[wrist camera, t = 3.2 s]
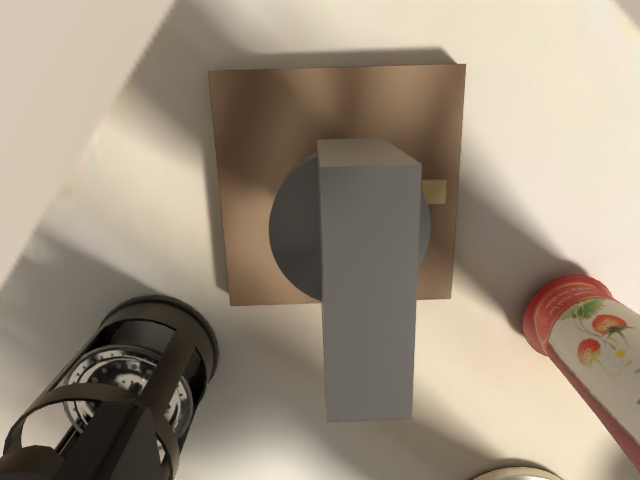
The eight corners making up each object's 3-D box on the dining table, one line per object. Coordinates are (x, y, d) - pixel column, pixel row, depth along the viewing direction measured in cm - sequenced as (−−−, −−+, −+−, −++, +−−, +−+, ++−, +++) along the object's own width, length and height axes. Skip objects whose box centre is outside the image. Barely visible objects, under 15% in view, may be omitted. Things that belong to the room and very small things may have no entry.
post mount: (458, 65, 30) (508, 56, 23) (445, 290, 35) (482, 345, 28) (213, 72, 30) (180, 65, 23) (233, 297, 35) (212, 354, 27)
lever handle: (425, 132, 23) (506, 161, 14) (418, 302, 26) (480, 425, 17) (266, 137, 23) (235, 169, 14) (276, 306, 26) (256, 433, 16)
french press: (159, 265, 34) (-111, 575, 12) (250, 347, 36) (158, 735, 14) (58, 359, 36) (-323, 766, 14) (149, 432, 39) (-62, 878, 17)
